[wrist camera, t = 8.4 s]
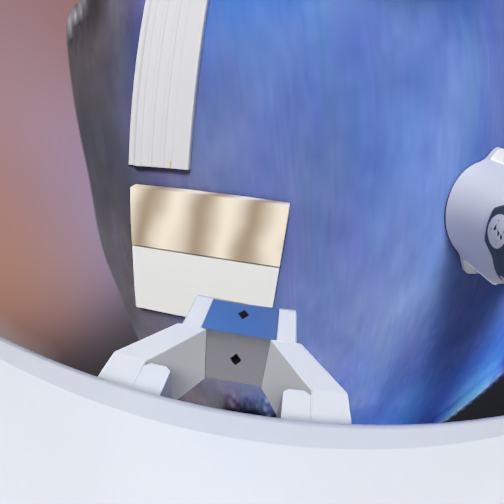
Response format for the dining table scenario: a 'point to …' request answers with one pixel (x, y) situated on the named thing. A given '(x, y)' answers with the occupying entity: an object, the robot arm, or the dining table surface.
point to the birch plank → (208, 223)
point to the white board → (197, 280)
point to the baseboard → (166, 83)
